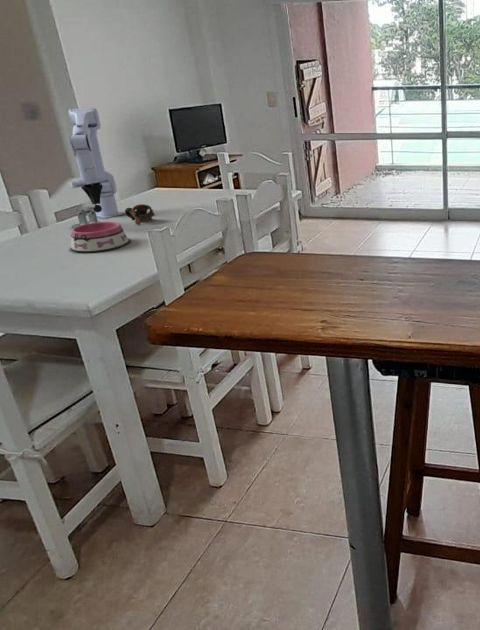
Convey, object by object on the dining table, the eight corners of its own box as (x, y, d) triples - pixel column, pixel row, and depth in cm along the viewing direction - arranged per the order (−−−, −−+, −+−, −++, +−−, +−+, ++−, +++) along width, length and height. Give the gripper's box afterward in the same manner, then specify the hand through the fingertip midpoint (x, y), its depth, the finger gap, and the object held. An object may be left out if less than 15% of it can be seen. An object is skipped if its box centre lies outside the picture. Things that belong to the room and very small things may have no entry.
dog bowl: (140, 239, 211) (136, 221, 208) (102, 254, 195) (97, 235, 192) (99, 236, 216) (95, 219, 213) (59, 251, 199) (53, 232, 197)
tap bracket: (107, 226, 231) (102, 206, 228) (85, 231, 224) (80, 211, 221) (94, 223, 236) (89, 204, 233) (72, 228, 229) (66, 208, 226)
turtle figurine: (159, 219, 240) (157, 204, 234) (151, 234, 234) (148, 219, 228) (130, 213, 239) (127, 198, 233) (121, 228, 233) (117, 213, 227)
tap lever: (104, 211, 222) (101, 203, 221) (96, 212, 220) (93, 204, 219) (89, 215, 230) (86, 208, 229) (82, 217, 228) (79, 209, 227)
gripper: (73, 171, 208) (82, 208, 213) (111, 165, 219) (120, 201, 224) (63, 170, 211) (73, 206, 217) (101, 164, 222) (110, 199, 228)
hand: (96, 203), depth 221 cm, fingers closed
